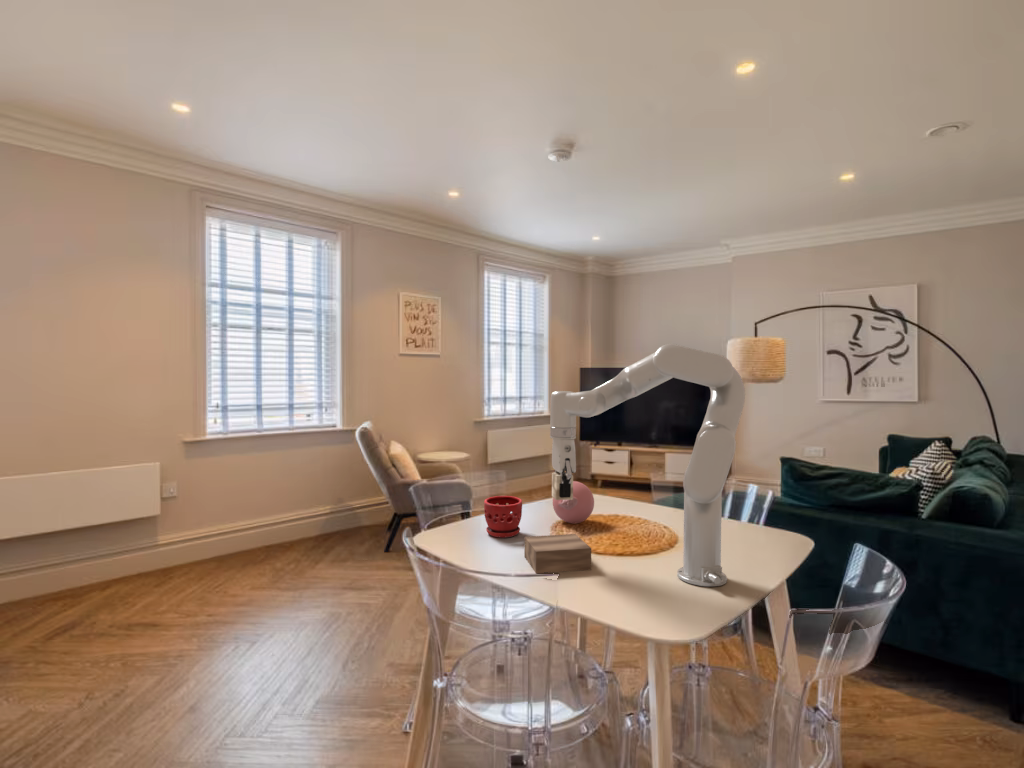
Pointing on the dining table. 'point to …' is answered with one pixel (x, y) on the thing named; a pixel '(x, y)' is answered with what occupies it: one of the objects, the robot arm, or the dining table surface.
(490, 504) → the plant pot
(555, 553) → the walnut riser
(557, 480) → the birch block
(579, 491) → the balloon
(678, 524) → the dining table surface
